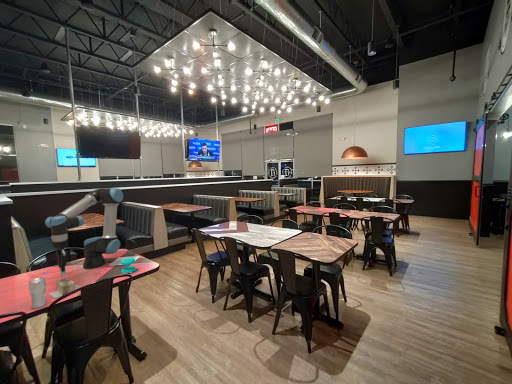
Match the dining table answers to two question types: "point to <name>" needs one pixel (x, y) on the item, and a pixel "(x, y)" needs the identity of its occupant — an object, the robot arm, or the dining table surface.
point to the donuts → (130, 268)
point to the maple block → (65, 286)
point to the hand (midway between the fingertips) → (62, 276)
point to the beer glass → (37, 292)
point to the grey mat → (57, 294)
